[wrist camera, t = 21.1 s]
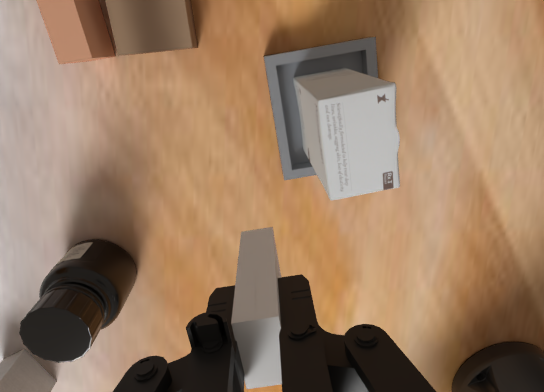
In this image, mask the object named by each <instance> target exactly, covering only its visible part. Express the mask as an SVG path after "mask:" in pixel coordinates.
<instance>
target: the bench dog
mask: <svg viewBox="0 0 544 392" xmlns="http://www.w3.org/2000/svg"><path fill="white" fill-rule="evenodd" d="M37 3H38V6H39V9H40V12H41V15H42V17H43V20H44V23H45V26H46V29H47V31H48V34H49V37H50V40H51V43H52V46H53V48H54V51H55V54H56V57H57V60H58V63H59V64H66V63H76V62H87V61H92V60H98V59H103V58H109V57H115V53H114V50H113V47H112V43H111V40H110V37H109V33H108V30H107V27H106V23H105V20H104V17H103V13H102V10H101V6H100V3H99V0H37Z"/></svg>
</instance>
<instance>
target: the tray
mask: <svg viewBox="0 0 544 392" xmlns="http://www.w3.org/2000/svg"><path fill="white" fill-rule="evenodd" d="M264 61H265V67H266V73H267V80H268V86H269V92H270V98H271V104H272V110H273V116H274V122H275V128H276V134H277V140H278V146H279V153H280V159H281V165H282V171H283V176H284V180H289V179H295V178H301V177H307V176H312V175H317V174H316V172H315V170H314V168H313V167H312V165H311V163H310V161H309V159H308V157H307V155H306V153H305V152H304V149H303V143H302V131H301V122H300V115H299V108H298V102H297V96H296V91H295V87H294V82H293V78H294V77H297V76H303V75H308V74H313V73H318V72H324V71H329V70H334V69H340V68H347V69H350V70H353V71H356V72H359V73H363V74H366V75H369V76H372V77H375V78H378V69H377V53H376V37H368V38H362V39H357V40H351V41H345V42H340V43H334V44H329V45H323V46H318V47H312V48H306V49H301V50H295V51H290V52H284V53H278V54H273V55H267V56H264Z"/></svg>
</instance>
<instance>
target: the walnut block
mask: <svg viewBox="0 0 544 392" xmlns="http://www.w3.org/2000/svg"><path fill="white" fill-rule="evenodd" d="M105 2H106V6H107V11H108V15H109V19H110V24H111V28H112V32H113V37H114V41H115V45H116V50H117V54H118V56H119V55H133V54H143V53H152V52H161V51H171V50H180V49H190V48H198V44H197V38H196V31H195V25H194V19H193V13H192V6H191V0H105Z"/></svg>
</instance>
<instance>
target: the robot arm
mask: <svg viewBox="0 0 544 392" xmlns="http://www.w3.org/2000/svg"><path fill="white" fill-rule="evenodd" d="M186 330H187V334H188V337H189V341H190V344H191V348H192V350H191V353H190V354H188V355H187V356H185V357H183V358H181V359H178V360H176V361H173V362H171V363H167V361H166V360H165V359H164V358H163V357H160V356H149V357H146V358H144V359H141V360H139V361H138V362H136V363H135V364H133V365H132V366H131V367H130V368H129V370H128V371H127V372H126V373H125V375H124V376H123V378H122V379H121V381H120V382H119V384H118V385H117V386H116V388H115V389H114V391H113V392H244V380H245V384H246V388H247V389H251V388H258V387H265V386H272V385H279V384H282V392H436V391H435V390H434V389H433V387H432V386H431V385H430V384H429V383H428V381H427V380H426V379H425V378H424V377H423V376H422V374H421V373H420V372H419V371H418V370H417V368H416V367H415V366H414V365H413V364H412V363H411V361H410V360H409V359H408V358H407V357H406V356H405V354H404V353H403V352H402V351H401V350H400V348H399V347H398V346H397V345H396V344H395V343H394V341H393V340H392V339H391V338H390V337H389V335H388V334H387V333H386V332H385V331H384V330H382V329H381V328H380V327H377V326H374V325H369V324H361V325H356V326H354V327H352V328H350V329H349V330H348V331H347V332H346V333H345V335H336V334H331V333H329V332H326V331H325V330H323V329H322V328H321V327H320V326H319V325H318V322H317V319H316V314H315V309H314V305H313V300H312V295H311V291H310V286H309V281H308V280H307V279H306V278H305V277H304V276H303V275H295V276H288V277H282V278H281V273H280V267H279V262H278V256H277V250H276V244H275V238H274V232H273V227H270V228H263V229H257V230H250V231H244V232H241V239H240V248H239V257H238V266H237V275H236V284H235V285H234V286H228V287H221V288H216V289H215V290H214V292H213V293H212V294H211V295H210V297H209V302H208V307H207V311H206V313H202V314H200V315H198V316H196V317H194V318H193V319H192V320H191V321H190V322H189V323H188V325H187V327H186ZM452 392H544V351H542V350H541V349H540V348H538V347H536V346H534V345H531V344H528V343H522V342H507V343H501V344H497V345H494V346H491V347H488V348H486V349H484V350H481V351H480V352H478V353H476V354H475V355H473V356H472V357H471V358H469V359H468V360H467V361H466V362H465V363H464V364H463V365H462V366H461V367H460V369H459V370H458V372H457V373H456V375H455V377H454V380H453V383H452Z"/></svg>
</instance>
